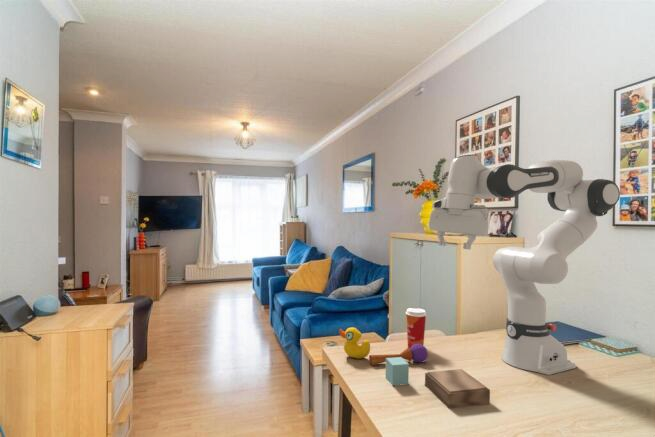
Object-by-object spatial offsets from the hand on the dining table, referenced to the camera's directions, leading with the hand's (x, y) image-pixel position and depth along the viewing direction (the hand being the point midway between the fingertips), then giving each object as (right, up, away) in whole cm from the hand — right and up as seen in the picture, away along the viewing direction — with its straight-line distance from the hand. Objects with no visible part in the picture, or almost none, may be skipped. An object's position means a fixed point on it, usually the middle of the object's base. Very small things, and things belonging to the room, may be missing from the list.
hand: (454, 247), depth 108 cm
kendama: (-17, -39, +5) cm, 43 cm away
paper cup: (-8, -39, +18) cm, 44 cm away
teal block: (-20, -39, -8) cm, 45 cm away
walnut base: (-5, -39, -15) cm, 42 cm away
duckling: (-31, -39, +8) cm, 51 cm away
